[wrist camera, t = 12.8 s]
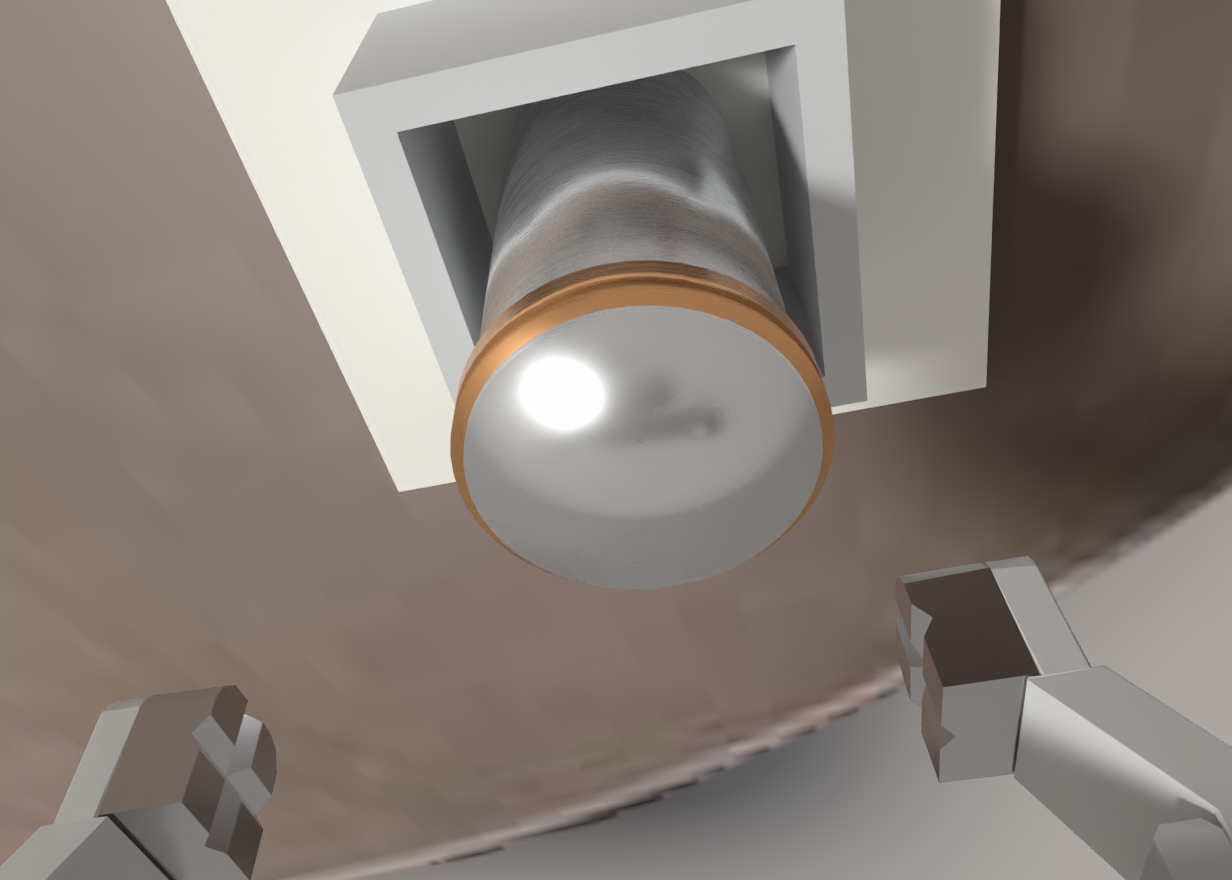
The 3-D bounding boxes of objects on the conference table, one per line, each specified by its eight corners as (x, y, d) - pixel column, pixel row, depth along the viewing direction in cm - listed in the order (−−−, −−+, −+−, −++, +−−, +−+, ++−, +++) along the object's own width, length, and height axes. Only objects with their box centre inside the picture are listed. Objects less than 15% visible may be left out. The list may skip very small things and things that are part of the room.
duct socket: (403, 468, 28) (371, 616, 24) (108, -173, 18) (-38, -116, 14) (974, 364, 26) (1050, 505, 22) (995, -407, 16) (1141, -425, 12)
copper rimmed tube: (464, 76, 20) (391, 347, 12) (725, 16, 20) (820, 261, 12) (534, 299, 23) (510, 622, 16) (758, 254, 23) (848, 566, 15)
